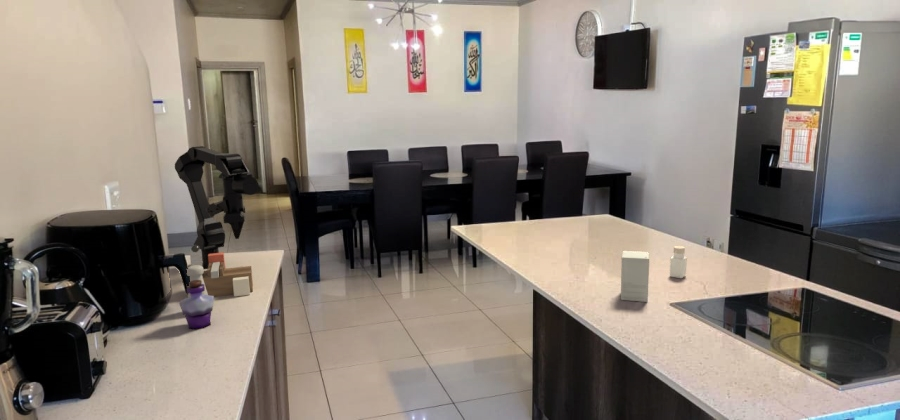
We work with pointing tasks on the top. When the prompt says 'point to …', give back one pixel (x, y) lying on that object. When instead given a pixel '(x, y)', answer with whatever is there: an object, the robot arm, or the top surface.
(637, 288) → the supplement box
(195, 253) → the lever
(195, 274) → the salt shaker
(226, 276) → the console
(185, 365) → the top surface
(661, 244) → the top surface
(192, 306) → the potion bottle
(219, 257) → the red plunger
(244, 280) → the cream button
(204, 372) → the top surface
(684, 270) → the pepper shaker
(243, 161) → the robot arm
